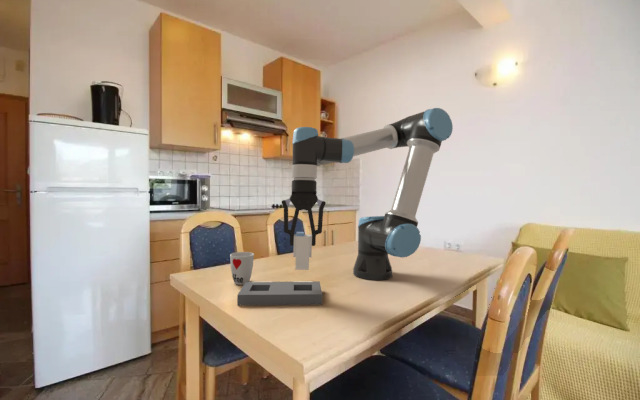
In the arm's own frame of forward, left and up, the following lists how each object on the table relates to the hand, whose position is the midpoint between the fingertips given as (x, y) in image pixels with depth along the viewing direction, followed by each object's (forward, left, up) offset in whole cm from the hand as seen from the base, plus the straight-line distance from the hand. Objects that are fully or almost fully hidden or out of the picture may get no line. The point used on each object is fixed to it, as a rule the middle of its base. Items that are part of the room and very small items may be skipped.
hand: (302, 256), depth 89 cm
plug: (0, 0, -4) cm, 4 cm away
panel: (+6, 0, -13) cm, 14 cm away
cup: (+21, -15, -13) cm, 29 cm away
